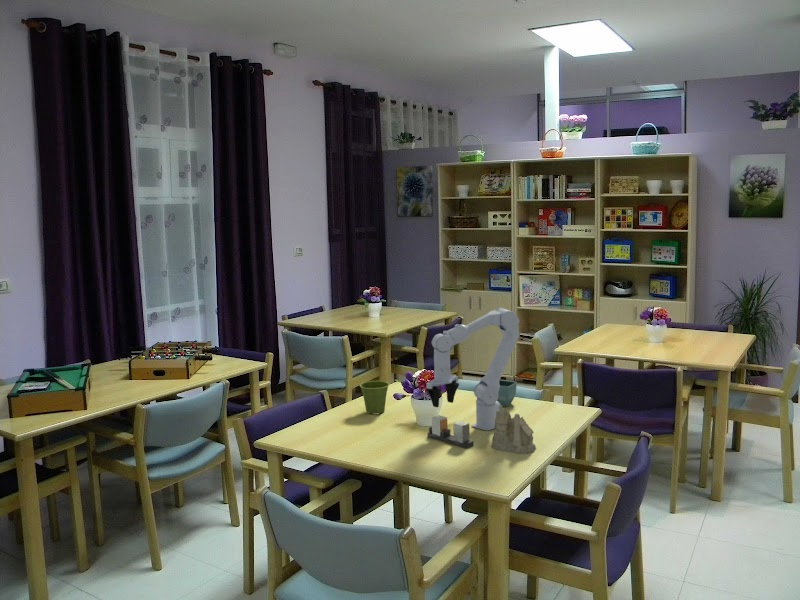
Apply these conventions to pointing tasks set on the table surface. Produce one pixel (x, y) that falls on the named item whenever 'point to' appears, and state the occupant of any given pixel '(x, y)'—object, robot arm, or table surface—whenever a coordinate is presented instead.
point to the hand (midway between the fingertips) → (443, 404)
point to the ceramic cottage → (512, 434)
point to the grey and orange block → (439, 425)
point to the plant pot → (374, 395)
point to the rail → (449, 438)
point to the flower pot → (506, 392)
